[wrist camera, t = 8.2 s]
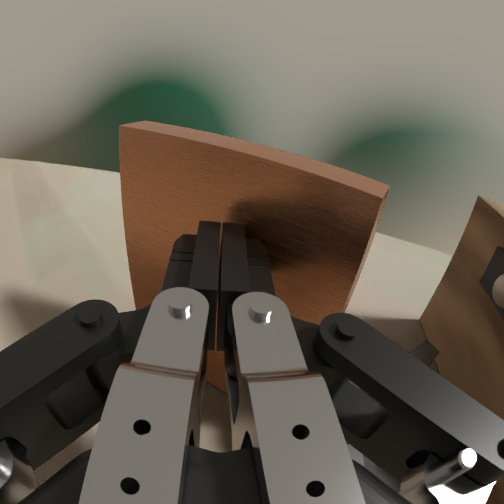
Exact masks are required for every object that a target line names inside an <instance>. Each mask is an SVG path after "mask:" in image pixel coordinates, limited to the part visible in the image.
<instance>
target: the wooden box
mask: <svg viewBox="0 0 504 504" xmlns="http://www.w3.org/2000/svg"><path fill="white" fill-rule="evenodd" d="M419 320H420V322H421V325H422V327H423V330H424V332H425V335H426V337H427V340H428V341H429V342H430V343H431V344H432V345H433V346H434V347H435V348H436V349H437V350H438V351H439V354H438V355H437V356H436V358H435V362H436V365H437V368H438V371H439V374H440V375H441V376H442V377H443V378H445V379H446V380H448V381H449V382H451V383H452V384H453V385H455V386H456V387H458V388H459V389H460V390H462V391H463V392H465V393H466V394H467V395H469V396H470V397H472V398H473V399H474V400H476V401H477V402H479V403H480V404H482V405H483V406H484V407H486V408H487V409H489V410H490V411H491V412H493V413H494V414H496V415H497V416H498V417H500V418H501V419H503V420H504V205H502V204H499V203H496V202H494V201H491V200H489V199H486V198H484V197H481V196H478V198H477V201H476V203H475V206H474V209H473V211H472V214H471V216H470V219H469V221H468V224H467V226H466V228H465V231H464V233H463V235H462V238H461V240H460V242H459V244H458V247H457V249H456V251H455V253H454V255H453V257H452V259H451V262H450V264H449V266H448V268H447V270H446V272H445V274H444V276H443V278H442V280H441V281H440V283H439V285H438V287H437V289H436V291H435V293H434V295H433V296H432V298H431V300H430V302H429V304H428V305H427V307H426V309H425V311H424V312H423V314H422V316H421V317H420V319H419ZM485 504H504V477H503V478H501V479H499V480H498V481H496V482H495V483H494V484H493V486H492V488H491V491H490V493H489V495H488V498H487V500H486V502H485Z"/></svg>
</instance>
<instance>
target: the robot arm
mask: <svg viewBox="0 0 504 504" xmlns="http://www.w3.org/2000/svg"><path fill="white" fill-rule="evenodd" d="M220 231H221V222H215V221H199V226H198V232H197V235H192V234H182V235H181V236H180V237H179V238H178V239H177V240H176V241H175V242H174V245H173V249H172V253H171V256H170V261H169V263H168V267H167V271H166V274H165V278H164V282H163V286H162V290H161V293H159V294H158V295H157V296H156V297H155V298H154V300H153V302H152V304H151V305H149V306H147V307H145V308H142V309H139V310H135V311H129V312H122V313H118V311H117V309H116V308H115V307H114V306H113V305H112V304H111V303H109V302H107V301H103V300H88V301H84V302H81V303H79V304H77V305H76V306H74V307H72V308H70V309H69V310H67V311H65V312H64V313H62V314H60V315H59V316H57V317H55V318H54V319H52V320H50V321H49V322H47V323H45V324H44V325H42V326H41V327H39V328H37V329H36V330H34V331H32V332H31V333H29V334H28V335H26V336H24V337H23V338H21V339H20V340H18V341H16V342H15V343H13V344H12V345H10V346H8V347H7V348H5V349H4V350H2V351H1V352H0V504H485V502H486V500H487V498H488V495H489V493H490V491H491V488H492V486H493V484H494V483H495V482H496V481H498V480H499V479H501V478H503V477H504V420H503V419H501V418H500V417H498V416H497V415H496V414H494V413H493V412H491V411H490V410H489V409H487V408H486V407H484V406H483V405H482V404H480V403H479V402H477V401H476V400H474V399H473V398H472V397H470V396H469V395H467V394H466V393H465V392H463V391H462V390H460V389H459V388H458V387H456V386H455V385H453V384H452V383H451V382H449V381H448V380H446V379H445V378H443V377H442V376H441V375H439V374H438V373H436V372H435V371H434V370H432V369H431V368H429V367H428V366H426V365H425V364H424V363H422V362H421V361H419V360H418V359H416V358H415V357H414V356H412V355H411V354H409V353H408V352H407V351H405V350H404V349H402V348H401V347H399V346H398V345H397V344H395V343H394V342H392V341H391V340H389V339H388V338H387V337H385V336H384V335H382V334H381V333H379V332H378V331H377V330H375V329H374V328H372V327H371V326H369V325H368V324H367V323H365V322H364V321H362V320H361V319H359V318H357V317H355V316H353V315H350V314H347V313H332V314H329V315H327V316H326V317H324V318H323V320H322V321H321V323H320V325H318V324H314V323H311V322H307V321H303V320H300V319H297V318H294V317H292V316H291V315H290V313H289V310H288V308H287V306H286V305H285V303H284V302H283V301H282V300H280V299H279V298H277V297H276V295H275V289H274V284H273V279H272V274H271V269H270V264H269V260H268V253H267V248H266V247H265V246H264V245H263V243H262V242H261V241H260V240H259V239H250V238H245V228H244V224H242V223H228V222H223V223H222V235H221V247H220ZM219 253H220V261H219ZM217 299H218V309H217ZM216 314H217V351H224V366H225V369H226V371H225V376H226V385H227V394H228V403H229V411H230V419H231V428H232V451H230V452H224V453H217V452H213V451H209V450H205V449H202V448H199V444H200V427H201V418H202V410H203V401H204V393H205V385H206V377H207V356H208V350H213V351H214V349H215V331H216ZM349 380H350V381H352V382H353V383H354V384H356V385H357V386H358V387H359V388H361V389H362V390H363V391H365V392H366V393H367V394H369V395H370V396H371V397H373V398H374V399H375V400H377V401H378V402H379V403H381V404H382V405H383V406H384V407H382V406H381V405H379V404H378V403H376V402H375V401H374V400H372V399H371V398H370V397H368V396H367V395H366V394H365V393H363V392H362V391H361V390H359V389H358V388H357V387H355V386H354V385H353V384H351V383H350V382H349ZM99 421H100V423H99V427H98V430H97V433H96V437H95V440H94V444H93V447H92V449H90V450H88V451H86V452H84V453H82V454H80V455H79V456H77V457H76V458H74V459H73V460H72V461H70V462H69V463H68V464H67V465H66V466H64V467H63V468H62V469H61V470H59V471H58V472H57V473H56V474H54V475H53V476H52V477H51V478H49V479H48V480H47V481H46V482H44V483H43V484H42V485H41V486H39V487H38V488H37V489H36V490H35V488H36V483H35V480H34V473H33V471H34V470H35V469H36V468H38V467H39V466H41V465H42V464H43V463H45V462H46V461H47V460H49V459H50V458H52V457H53V456H54V455H56V454H57V453H58V452H60V451H61V450H62V449H64V448H65V447H66V446H68V445H69V444H71V443H72V442H73V441H75V440H76V439H77V438H79V437H80V436H81V435H82V434H84V433H85V432H86V431H88V430H89V429H90V428H92V427H93V426H94V425H96V424H97V423H98V422H99ZM346 442H347V443H349V444H350V445H351V446H352V447H354V448H355V449H356V450H358V451H359V452H360V453H362V454H363V455H364V456H365V457H367V458H368V459H369V460H371V461H372V462H373V463H375V464H376V465H378V466H379V467H380V468H382V469H383V470H384V471H386V472H387V473H389V474H390V475H391V476H393V477H394V478H396V479H397V480H398V481H400V482H401V485H400V489H399V491H398V493H397V492H396V491H395V490H393V489H392V488H391V487H389V486H388V485H387V484H385V483H384V482H383V481H382V480H380V479H379V478H378V477H376V476H375V475H374V474H373V473H371V472H370V471H369V470H368V469H366V468H365V467H364V466H362V465H361V464H360V463H358V462H356V461H355V460H353V459H351V456H350V453H349V450H348V447H347V444H346ZM31 492H32V493H31Z"/></svg>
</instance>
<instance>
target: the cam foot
mask: <svg viewBox="0 0 504 504" xmlns="http://www.w3.org/2000/svg"><path fill="white" fill-rule="evenodd" d="M119 142H120V143H119V147H120V177H121V194H122V207H123V219H124V229H125V238H126V247H127V255H128V263H129V270H130V277H131V283H132V289H133V295H134V301H135V307H136V310H139V309H142V308H145V307H147V306H149V305H151V304H152V302H153V300H154V298H155V297H156V296H157V295H158V294H159V293H161V290H162V286H163V282H164V278H165V274H166V271H167V267H168V263H169V261H170V256H171V253H172V249H173V245H174V242H175V241H176V240H177V239H178V238H179V237H180V236H181V235H182V234H192V235H197V232H198V226H199V221H215V222H221V231H220V247H221V235H222V223H223V222H228V223H242V224H244V228H245V238H250V239H259V240H260V241H261V242H262V243H263V245H264V246H265V247H266V248H267V253H268V260H269V264H270V269H271V274H272V279H273V284H274V289H275V295H276V297H277V298H279V299H280V300H282V301H283V302H284V303H285V305H286V306H287V308H288V310H289V313H290V315H291V316H292V317H294V318H297V319H300V320H303V321H307V322H311V323H314V324H318V325H320V323H321V321H322V320H323V318H324V317H326V316H327V315H329V314H332V313H345V310H346V308H347V306H348V303H349V301H350V298H351V296H352V294H353V291H354V289H355V286H356V284H357V281H358V279H359V276H360V273H361V271H362V268H363V266H364V263H365V260H366V258H367V255H368V252H369V249H370V247H371V244H372V241H373V238H374V235H375V232H376V229H377V226H378V223H379V220H380V217H381V214H382V211H383V208H384V205H385V202H386V199H387V195H388V192H389V189H390V186H389V185H386V184H384V183H381V182H378V181H376V180H373V179H370V178H367V177H365V176H362V175H359V174H356V173H353V172H350V171H348V170H345V169H342V168H339V167H336V166H333V165H329V164H327V163H323V162H320V161H317V160H314V159H310V158H307V157H304V156H301V155H297V154H294V153H290V152H287V151H283V150H279V149H276V148H272V147H268V146H265V145H261V144H257V143H253V142H249V141H245V140H241V139H237V138H232V137H228V136H224V135H219V134H215V133H210V132H205V131H200V130H195V129H190V128H184V127H180V126H174V125H168V124H162V123H156V122H150V121H141V122H135V123H130V124H125V125H119ZM219 261H220V253H219ZM217 309H218V299H217ZM409 354H411V355H412V356H414V357H415V358H416V359H418V360H419V361H421V362H422V363H424V364H425V365H426V366H428V367H429V365H430V364H431V363H432V361H433V360H434V359H435V358H436V356H437V355H438V354H439V351H438V350H437V349H436V348H435V347H434V346H433V345H432V344H431V343H430V342H429V341H428V340H427V341H425V342H424V343H423V344H421V345H420V346H419V347H417V348H416V349H414V350H413V351H412V352H410V353H409ZM225 371H226V369H225V366H224V351H217V314H216V331H215V349H214V351H213V350H208V356H207V377H206V380H207V381H209V382H210V383H212V384H213V385H215V386H216V387H218V388H219V389H221V390H223V391H224V392H226V393H227V385H226V376H225ZM349 382H350V383H351V384H353V385H354V386H355V387H357V388H358V389H359V390H361V391H362V392H363V393H365V394H366V395H367V396H368V397H370V398H371V399H372V400H374V401H375V402H376V403H378V404H379V405H381V406H382V407H384V406H383V405H382V404H381V403H379V402H378V401H377V400H375V399H374V398H373V397H371V396H370V395H369V394H367V393H366V392H365V391H363V390H362V389H361V388H359V387H358V386H357V385H356V384H354V383H353V382H352V381H350V380H349ZM346 444H347V447H348V450H349V453H350V456H351V459H353V460H355V461H356V462H358V463H360V464H361V465H362V466H364V467H365V468H366V469H368V470H369V471H370V472H371V473H373V474H374V475H375V476H376V477H378V478H379V479H380V480H382V481H383V482H384V483H385V484H387V485H388V486H389V487H391V488H392V489H393V490H395V491H396V492H397V493H398V491H399V489H400V485H401V482H400V481H398V480H397V479H396V478H394V477H393V476H391V475H390V474H389V473H387V472H386V471H384V470H383V469H382V468H380V467H379V466H378V465H376V464H375V463H373V462H372V461H371V460H369V459H368V458H367V457H365V456H364V455H363V454H362V453H360V452H359V451H358V450H356V449H355V448H354V447H352V446H351V445H350V444H349V443H347V442H346Z"/></svg>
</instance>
